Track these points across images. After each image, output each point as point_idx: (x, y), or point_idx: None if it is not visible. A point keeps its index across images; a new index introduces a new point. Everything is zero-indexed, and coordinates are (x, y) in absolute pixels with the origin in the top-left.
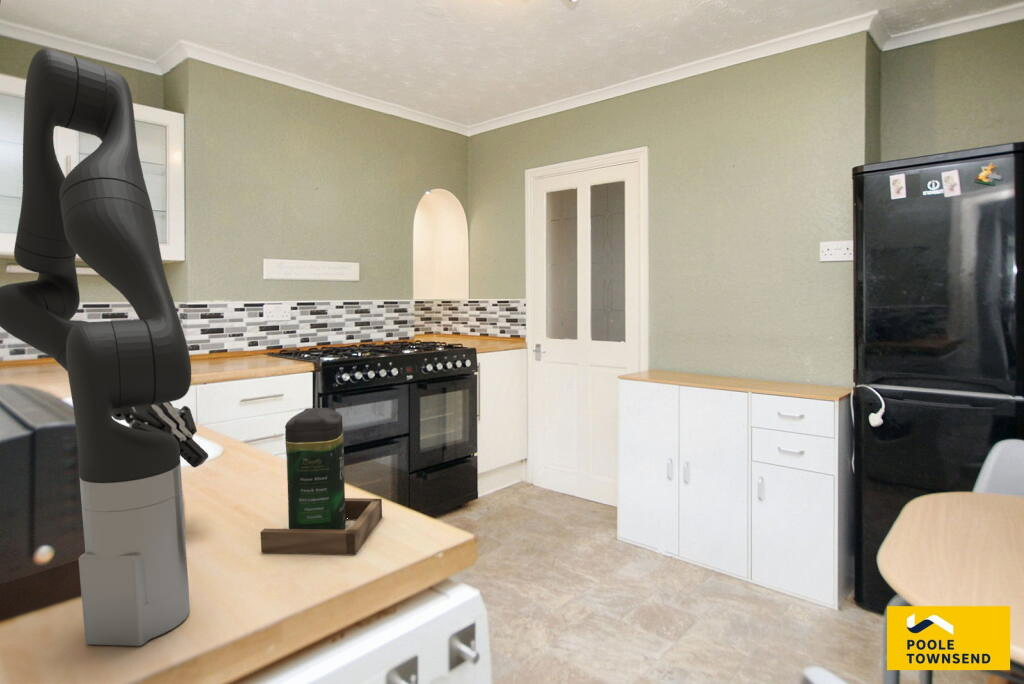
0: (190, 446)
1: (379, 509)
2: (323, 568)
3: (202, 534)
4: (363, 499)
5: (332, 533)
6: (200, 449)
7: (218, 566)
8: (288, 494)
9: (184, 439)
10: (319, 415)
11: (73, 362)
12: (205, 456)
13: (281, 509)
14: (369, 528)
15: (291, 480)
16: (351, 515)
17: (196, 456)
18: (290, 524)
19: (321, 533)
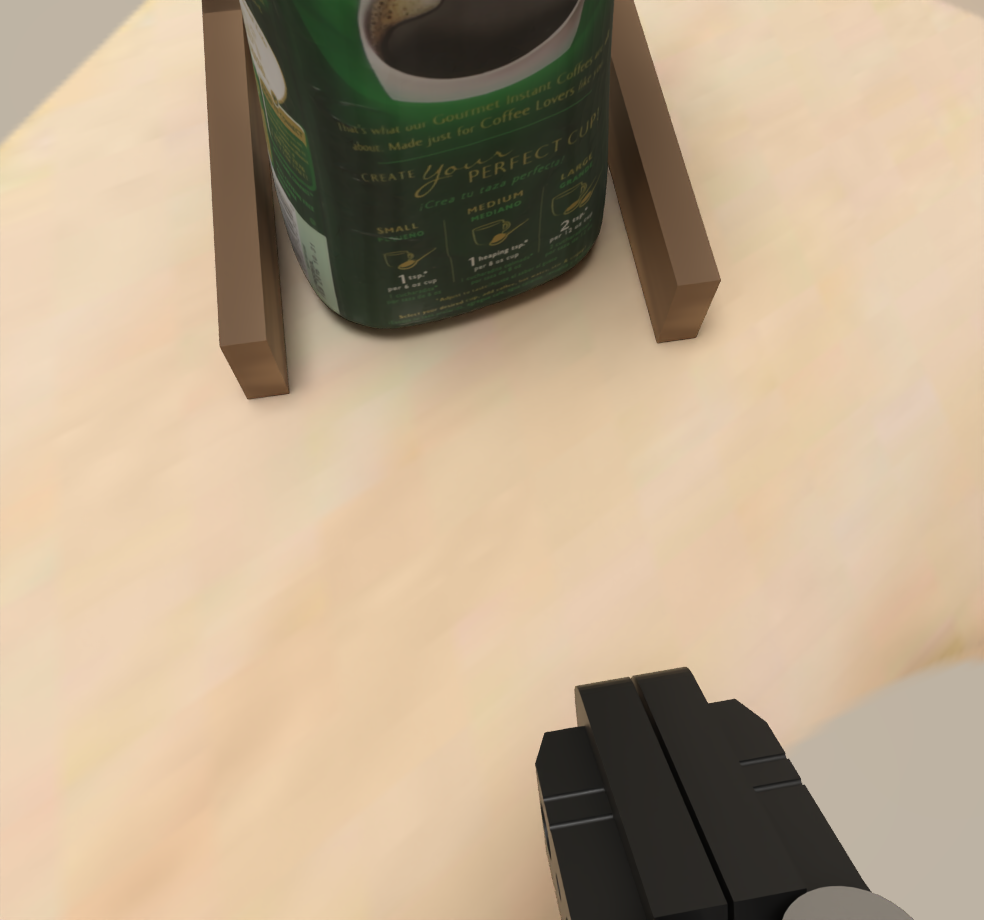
0: (761, 815)
1: None
2: (734, 69)
3: None
4: (219, 49)
5: (635, 13)
6: (643, 741)
7: (865, 433)
8: (585, 112)
9: (837, 901)
10: None
11: None
12: (633, 676)
13: (157, 560)
14: None
15: (609, 7)
16: (264, 146)
17: (733, 720)
18: (595, 204)
19: (646, 49)
